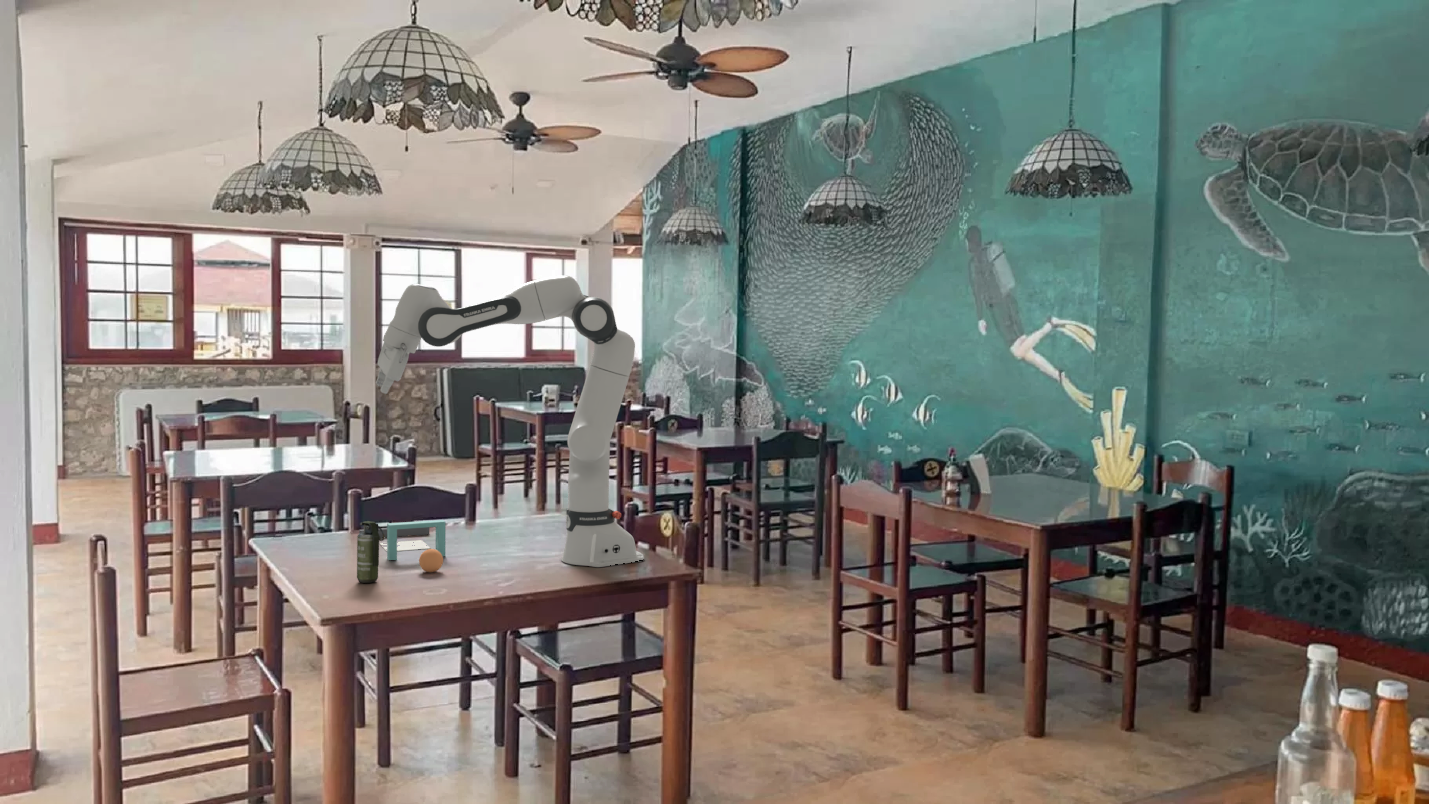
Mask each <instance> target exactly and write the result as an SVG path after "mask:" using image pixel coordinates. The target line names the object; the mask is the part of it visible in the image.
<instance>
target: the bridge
mask: <svg viewBox="0 0 1429 804" xmlns="http://www.w3.org/2000/svg"><path fill="white" fill-rule="evenodd" d="M424 527H429V528H435V550H438V551H439V552H440V553H441V554H442V556H445V557H446V527H447V525H446V521H445V520H444V519H435V520H421V521H419V520H418V521H406V522H405V521H404V522H403V521H402V522H401V521H400V522H391V523H390V522H389V523H386V528H387V539H386V541H387V542H386V543H387V551H386V554H387V555H386V557H387V558H386V559H387V560H388V561H389V560H397V561H398V551H397V542H398V537H397V529H409V528H424Z"/></svg>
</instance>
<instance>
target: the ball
mask: <svg viewBox="0 0 1429 804" xmlns="http://www.w3.org/2000/svg"><path fill="white" fill-rule="evenodd" d="M418 561H419V562H418V563H419V567H420V569H422V570H423V571H424V572H426V573H435V572H437V571H440V569H441V568H442V567H443V563H444V557H443V556H442V554H441V553H440V552H439V551H438V550H436V548H431V549H424V551H423V552H422V553H420V556H419V559H418Z"/></svg>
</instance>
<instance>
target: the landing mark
mask: <svg viewBox="0 0 1429 804" xmlns="http://www.w3.org/2000/svg"><path fill="white" fill-rule="evenodd" d="M397 542H398V543H397V545H400V546H398V547H397V552H404V551H405V552H406V551H408V552H409V551H417V550H418V549H421V550H428V549H432V548H431V547H430V546H429V545H428V544H427V543H426V542H424V540H423V539H416V540H402V541H397ZM413 542H414V543H413ZM383 543H384V542H379V546H381V545H387V544H383ZM412 545H413V546H412ZM414 545H415V546H414ZM426 545H427V546H426ZM381 547H382V548H383V549H384V550H385V551H386V552H387V550H386V549H387V547H383V546H381ZM418 551H419V550H418Z"/></svg>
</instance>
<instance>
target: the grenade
mask: <svg viewBox="0 0 1429 804" xmlns="http://www.w3.org/2000/svg"><path fill="white" fill-rule="evenodd" d="M359 525H360V526H363V529H364V532H361V533H359V532H358V534H357V537H356V538H357V539H356V540H357V542H356V547H357V548H356V549H357V550H356V551H357V552H356V579H357V581H358V582H359V583H364V584H370V583H371V584H372V583H375V582H377V581H378V578H379V566H380V559H379V558H380V544H379V543H380V542H382V541H385V538H384V532H383V530H382V529H381V527H380V526H379V523H377V522H375V521H369V520H367V521H366V520H365V521H362V522H359ZM379 529H380V530H381V532H382V534H383V538H380V535H379V533H378V531H379Z"/></svg>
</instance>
